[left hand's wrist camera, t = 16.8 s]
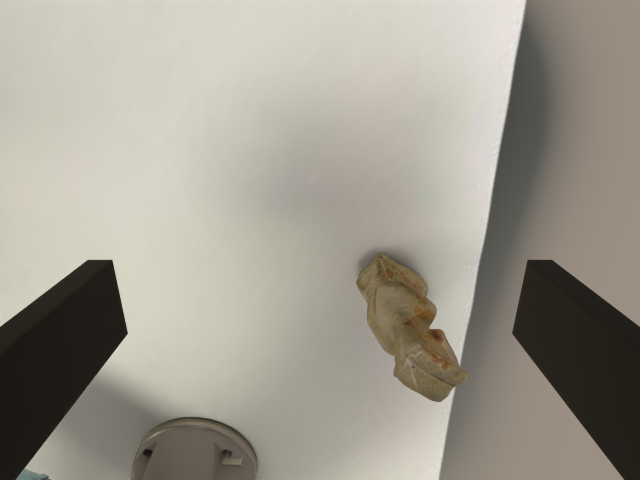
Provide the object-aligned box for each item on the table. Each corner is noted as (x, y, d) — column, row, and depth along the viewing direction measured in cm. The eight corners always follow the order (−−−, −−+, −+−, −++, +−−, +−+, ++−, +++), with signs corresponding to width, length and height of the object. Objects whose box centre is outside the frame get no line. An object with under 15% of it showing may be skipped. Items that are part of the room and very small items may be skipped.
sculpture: (394, 314, 43) (429, 424, 29) (344, 275, 42) (356, 373, 28) (432, 277, 42) (489, 375, 28) (383, 235, 40) (416, 318, 26)
